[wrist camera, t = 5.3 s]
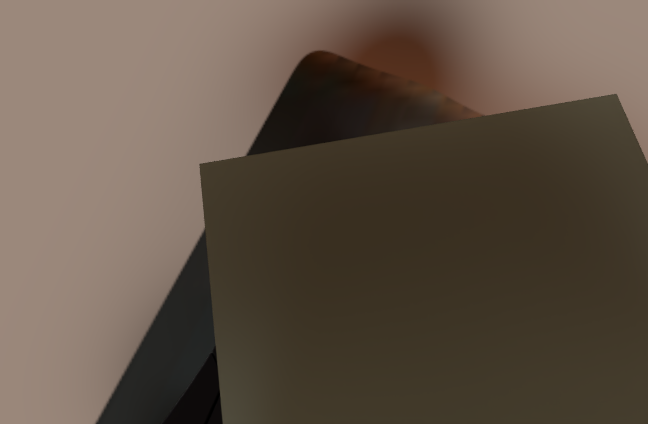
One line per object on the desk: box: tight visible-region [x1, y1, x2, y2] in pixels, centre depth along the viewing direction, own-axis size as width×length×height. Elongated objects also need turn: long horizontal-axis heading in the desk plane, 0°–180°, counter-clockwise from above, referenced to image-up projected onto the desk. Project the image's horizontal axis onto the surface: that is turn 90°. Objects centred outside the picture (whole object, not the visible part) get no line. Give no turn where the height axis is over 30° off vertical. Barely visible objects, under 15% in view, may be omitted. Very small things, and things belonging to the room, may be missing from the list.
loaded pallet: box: [200, 94, 648, 424], centre depth 9 cm, size 7×7×13 cm
